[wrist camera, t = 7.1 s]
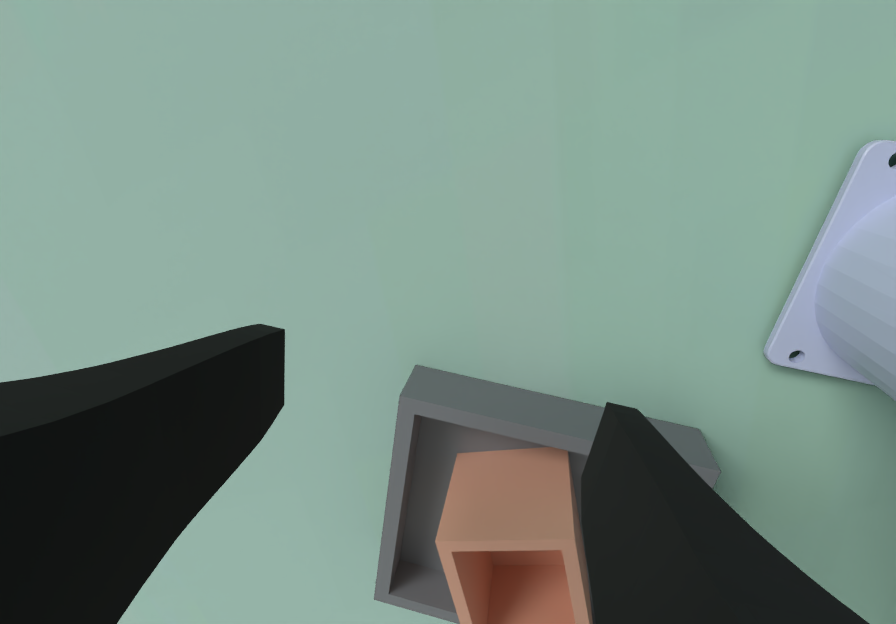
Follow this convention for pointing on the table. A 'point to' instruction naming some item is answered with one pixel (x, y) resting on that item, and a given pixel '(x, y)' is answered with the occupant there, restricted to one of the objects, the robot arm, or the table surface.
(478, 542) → the small crate
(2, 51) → the table surface
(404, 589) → the big crate
